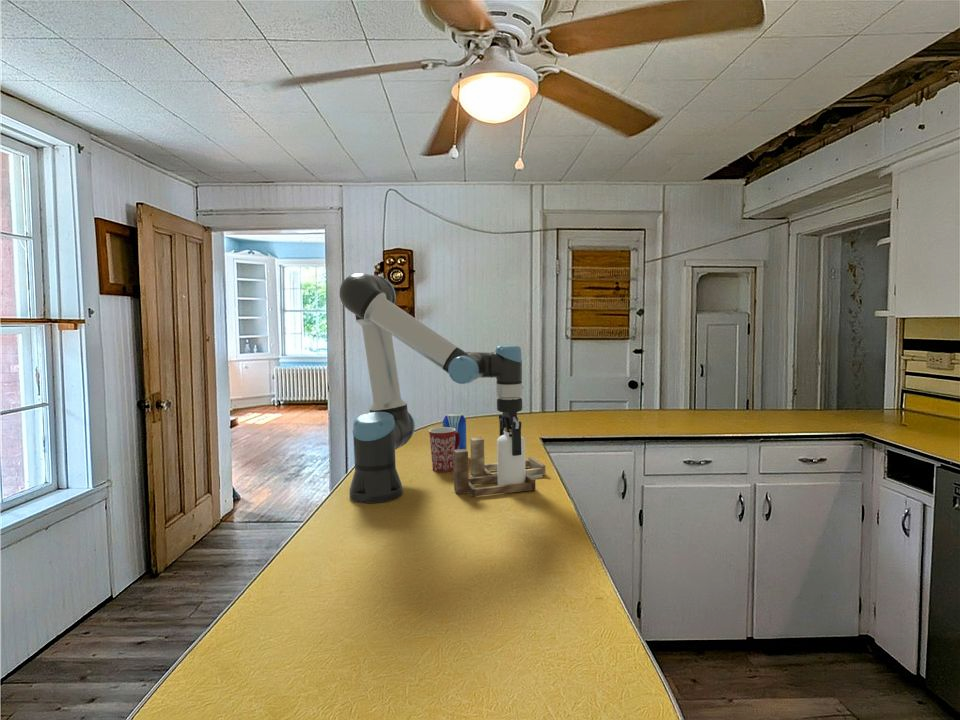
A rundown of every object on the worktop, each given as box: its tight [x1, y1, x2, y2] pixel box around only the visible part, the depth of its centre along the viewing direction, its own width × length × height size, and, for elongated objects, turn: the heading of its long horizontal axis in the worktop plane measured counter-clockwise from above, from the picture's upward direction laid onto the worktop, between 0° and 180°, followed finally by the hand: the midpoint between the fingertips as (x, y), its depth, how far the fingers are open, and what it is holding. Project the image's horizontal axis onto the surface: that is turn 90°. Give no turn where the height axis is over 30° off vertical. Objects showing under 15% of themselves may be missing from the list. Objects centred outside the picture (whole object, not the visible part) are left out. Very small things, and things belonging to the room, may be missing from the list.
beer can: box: [442, 412, 468, 451], centre depth 206 cm, size 8×8×16 cm
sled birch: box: [469, 437, 547, 477], centre depth 183 cm, size 22×12×12 cm, turn 106°
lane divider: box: [530, 474, 544, 479], centre depth 177 cm, size 16×1×1 cm, turn 106°
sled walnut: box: [453, 449, 536, 498], centre depth 168 cm, size 22×12×12 cm, turn 106°
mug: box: [428, 426, 460, 473], centre depth 192 cm, size 13×9×14 cm
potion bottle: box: [496, 427, 526, 486], centre depth 168 cm, size 8×8×18 cm
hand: (510, 474), depth 170 cm, fingers open, 5 cm apart
